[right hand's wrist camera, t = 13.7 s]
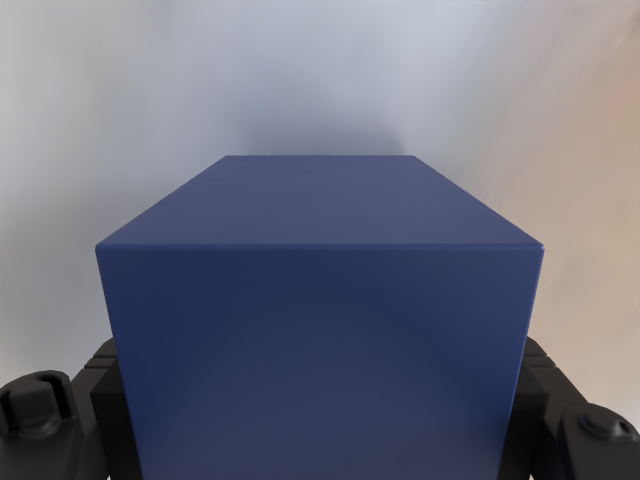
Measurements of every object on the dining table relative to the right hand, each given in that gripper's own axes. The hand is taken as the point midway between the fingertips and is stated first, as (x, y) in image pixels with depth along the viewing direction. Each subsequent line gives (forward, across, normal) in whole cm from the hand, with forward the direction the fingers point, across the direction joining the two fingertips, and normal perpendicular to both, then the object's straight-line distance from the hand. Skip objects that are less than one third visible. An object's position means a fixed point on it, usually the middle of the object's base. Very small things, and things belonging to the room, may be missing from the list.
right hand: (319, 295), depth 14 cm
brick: (+3, 0, 0) cm, 3 cm away
